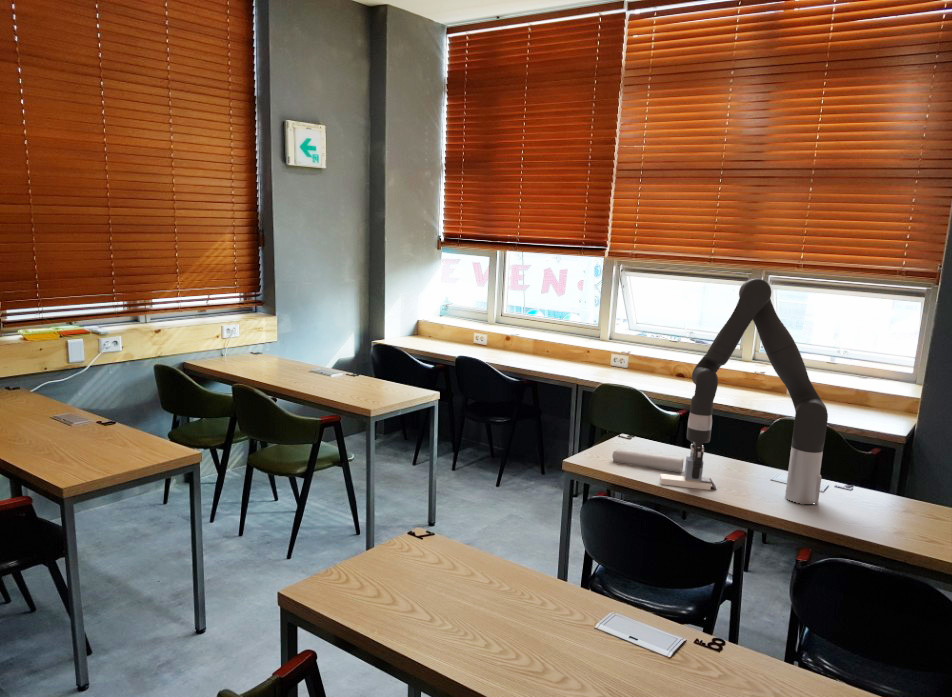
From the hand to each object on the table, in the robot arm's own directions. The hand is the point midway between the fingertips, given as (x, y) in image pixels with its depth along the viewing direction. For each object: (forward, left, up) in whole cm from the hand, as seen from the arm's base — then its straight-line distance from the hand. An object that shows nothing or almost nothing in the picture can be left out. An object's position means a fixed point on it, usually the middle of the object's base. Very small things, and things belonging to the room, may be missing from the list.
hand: (694, 475), depth 239 cm
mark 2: (-6, 0, -2) cm, 6 cm away
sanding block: (0, 0, -1) cm, 1 cm away
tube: (+15, -16, -4) cm, 22 cm away
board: (+3, 0, -3) cm, 4 cm away
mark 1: (-4, 0, -1) cm, 4 cm away
